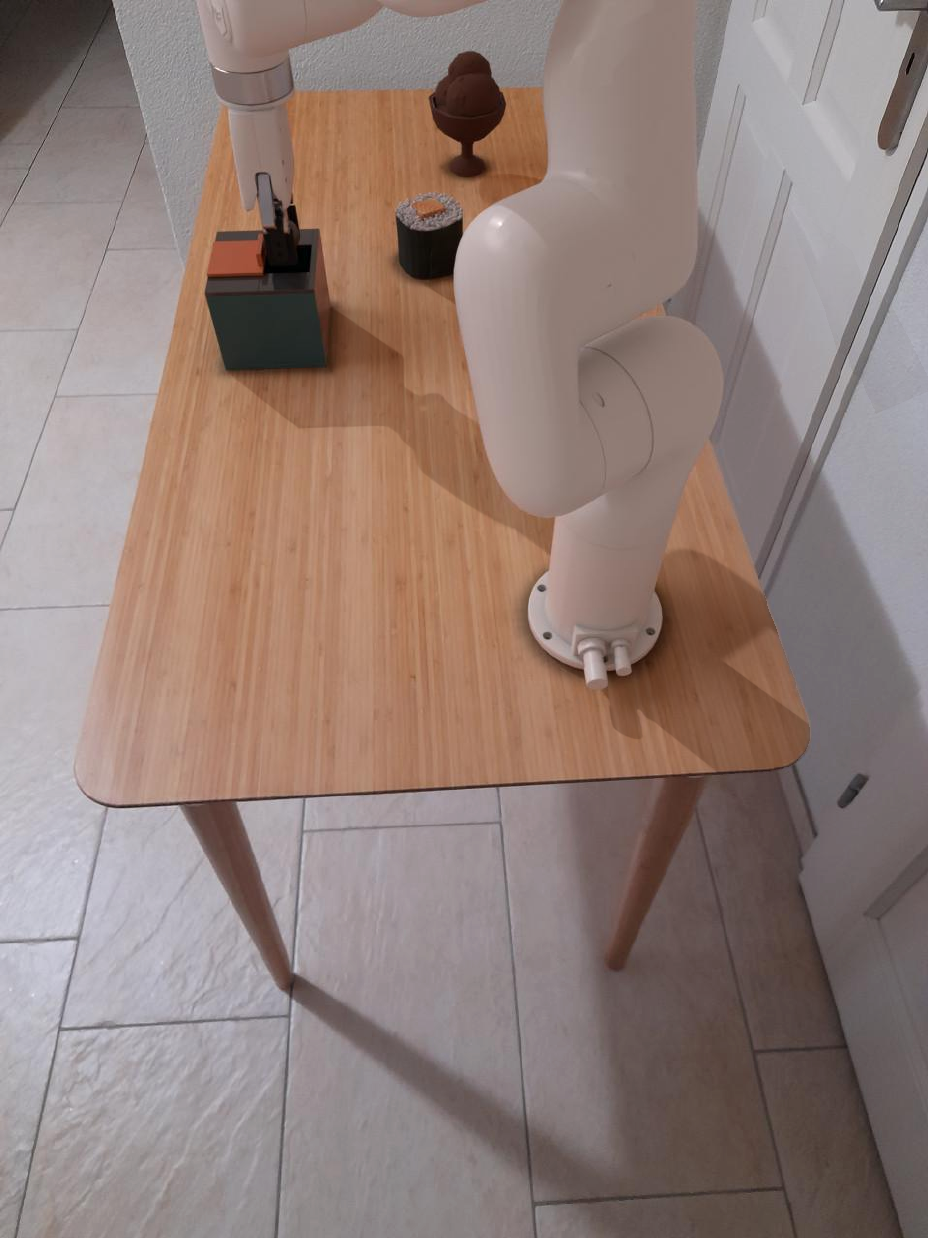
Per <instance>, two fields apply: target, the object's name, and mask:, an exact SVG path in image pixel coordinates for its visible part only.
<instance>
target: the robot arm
mask: <svg viewBox="0 0 928 1238" xmlns="http://www.w3.org/2000/svg"><path fill="white" fill-rule="evenodd" d="M488 1H489V0H195V3H196V6H197V11H198V16H199V20H200V25H201V29H202V35H203V38H204V44H205V47H206V53H207V57H208V62H209V66H210V70H211V75H212V80H213V84H214V90H215V94H216V98H217V100H218V102H219V103H220V104H222V106H224V107H226V108H227V115H228V116H227V118H228V127H229V134H230V141H231V147H232V155H233V159H234V166H235V171H236V177H237V182H238V188H239V194H240V201H241V205H242V208H243V209H244V210H245V211H246V212H250V211H254V210H255V206H256V201H257V206H258V211H259V218H260V224H261V228H262V229H261V230H263V232H262V233H263V238H264V243H265V248H266V253H267V258H268V262H269V265H271V266H289V265H297V263H298V257H297V251H296V246H295V240H294V234H293V229H290V228H289V220H288V219H290V220H291V221H292V222H293V223H294V224H295V225H296V227H297V228H298V231H299V236H300V230H299V229H300V225H299V219H298V212H297V207H296V205H295V204H294V193H293V187H294V186H293V185H294V178H295V153H294V146H293V139H292V131H291V124H290V117H289V112H288V106H287V102H289V101H290V100H291V99H292V98H293V96H294V95H295V93H296V92H295V91H296V90H295V89H296V88H295V82H294V75H293V69H292V61H291V56H290V50H292V49H295V48H298V47H300V46H303V45H305V44H309V43H312V42H315V41H318V40H322V39H326V38H328V37H331V36H336V35H339V34H343V33H345V32H349V31H351V30H354V29H357V28H358V27H360V26H362V25H364V24H365V23H367V22H369V20H371V19H372V18H373V17H374V16H375V15H377V14H378V12H380V11H382V9H383V8H384V7H385V8H387V9H389V10H391V11H393V12H395V13H398V14H401V15H404V16H408V17H411V18H431V17H439V16H443V15H447V14H452V13H454V12H457V11H460V10H463V9H465V8H469V7H473V6H475V5H478V4H481V3H484V2H488ZM697 6H698V0H563V1H562V3H561V5H560V7H559V10H558V12H557V15H556V17H555V21H554V23H553V27H552V30H551V34H550V37H549V42H548V46H547V49H546V50H547V51H546V55H545V59H544V65H543V72H542V79H541V80H542V82H541V100H542V101H541V103H542V109H543V116H544V117H543V118H544V125H545V130H546V131H545V132H546V145H547V146H546V147H547V170H546V173H545V175H544V177H543V179H542V180H541V182H538V183H537V184H534V185H531V186H530V187H527V188H525V189H523V190H520V191H518V192H516V193H513V194H510V195H508V196H507V197H504V198H503V199H501V200H498V201H496V202H494V203H493V204H491V205H490V206H488V207H487V208H485V209H484V210H482V211H481V212H480V213H478V215H476V216H475V217H474V218H473V220H472V221H471V222H470V223H469V224H468V225H467V227H466V229H465V230H464V231H463V236H462V238H461V241H460V243H459V246H458V250H457V254H456V260H455V266H454V274H453V294H454V295H453V296H454V301H455V308H456V314H457V315H456V316H457V321H458V324H459V331H460V335H461V340H462V345H463V350H464V356H465V359H466V365H467V370H468V375H469V380H470V383H471V388H472V395H473V399H474V404H475V410H476V415H477V420H478V424H479V428H480V433H481V434H480V435H481V438H482V443H483V446H484V450H485V454H486V457H487V459H488V460H487V461H488V463H489V464H490V468H491V470H492V473H493V476H494V477H495V479H496V482H497V483H498V485H499V487H500V489H501V490H502V491H503V493H504V494H505V496H506V497H507V498H508V500H510V502H511V503H512V504H513V505H515V507H517V508H518V509H519V510H521V511H523V512H524V513H526V514H528V515H530V516H533V517H536V518H544V519H549V518H550V519H552V518H554V522H553V523H554V524H553V533H552V541H551V550H550V557H549V564H548V565H549V567H548V571H546V572H545V573H543V575H541V577H539V579H538V580H536V582H535V584H534V585H533V587H532V589H531V593H530V595H529V598H528V604H527V621H528V624H529V625H528V626H529V628H530V630H531V633H532V635H533V637H534V639H535V641H537V643H538V645H540V647H541V648H542V649H543V650H544V651H545V652H546V653H548V654H549V655H550V656H551V657H552V658H554V659H555V660H557V661H559V662H560V663H562V664H564V665H567V666H570V667H572V668H575V669H579V670H583V673H584V680H585V686H586V688H587V689H588V690H590V691H601V690H604V689H605V688H607V687H608V686H609V679H608V673H607V672H610V671H611V672H612V671H615V673H616V675H617V676H619V677H626V676H629V675H630V674H631V673H632V672H633V671H632V665H633V664H636V663H637V662H639V661H640V660H641V659H643V658H645V656H647V655H648V654H649V652H650V651H651V650H652V649H653V648H654V646H655V644H656V642H657V641H658V639H659V636H660V633H661V630H662V626H663V608H662V604H661V601H660V599H659V596H658V594H657V592H656V591H655V588H656V585H657V581H658V577H659V574H660V572H661V567H662V564H663V561H664V558H665V557H664V556H665V554H666V550H667V547H668V543H669V539H670V537H671V532H672V529H673V526H674V523H675V520H676V517H677V514H678V510H679V506H680V504H681V500H682V497H683V494H684V490H685V488H686V485H687V483H688V480H689V477H690V475H691V472H692V471H693V469H694V467H695V465H696V463H697V461H698V459H699V457H700V455H701V453H702V452H703V450H704V448H705V446H706V444H707V442H708V440H709V438H710V436H711V434H712V432H713V430H714V428H715V425H716V422H717V420H718V419H719V418H718V417H719V414H720V410H721V406H722V402H723V396H724V372H723V366H722V363H721V360H720V356H719V354H718V352H717V350H716V347H715V346H714V344H713V343H712V341H711V340H710V338H709V337H708V336H707V335H706V333H705V332H704V331H702V329H700V328H699V327H697V326H696V325H695V324H693V323H691V322H690V321H688V320H686V319H683V318H680V317H677V316H672V315H649V316H645V317H641V316H643V315H645V314H647V313H649V312H651V311H653V310H654V309H656V308H657V307H660V306H661V305H662V304H664V303H666V302H667V301H668V300H670V299H671V298H673V297H674V296H676V295H677V294H678V293H679V292H680V290H682V289H683V288H684V287H685V285H686V284H687V283H688V282H689V279H690V277H691V276H692V273H693V271H694V269H695V265H696V260H697V255H698V245H699V244H698V243H699V242H698V241H699V201H698V200H699V197H698V194H699V193H698V155H697V154H698V150H697V149H698V147H697V101H696V86H695V85H696V84H695V34H696V23H697V22H696V20H697V8H698V7H697ZM279 216H280V217H282V220H281V218H280V217H279ZM640 317H641V318H640Z"/></svg>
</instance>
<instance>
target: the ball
mask: <svg viewBox="0 0 928 1238" xmlns="http://www.w3.org/2000/svg"><path fill="white" fill-rule="evenodd" d="M279 217H280V216H279ZM280 218H281V220H282V217H280ZM288 220H289V228H290V229H293V234H294V240H295V246H296V248H297V247H298V244H299V240H300V236H299V231H298V228H297V227H296V225H295V224H294V223H293V222H292V221H291V220H290V219H288ZM263 240H264V238H263Z"/></svg>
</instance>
